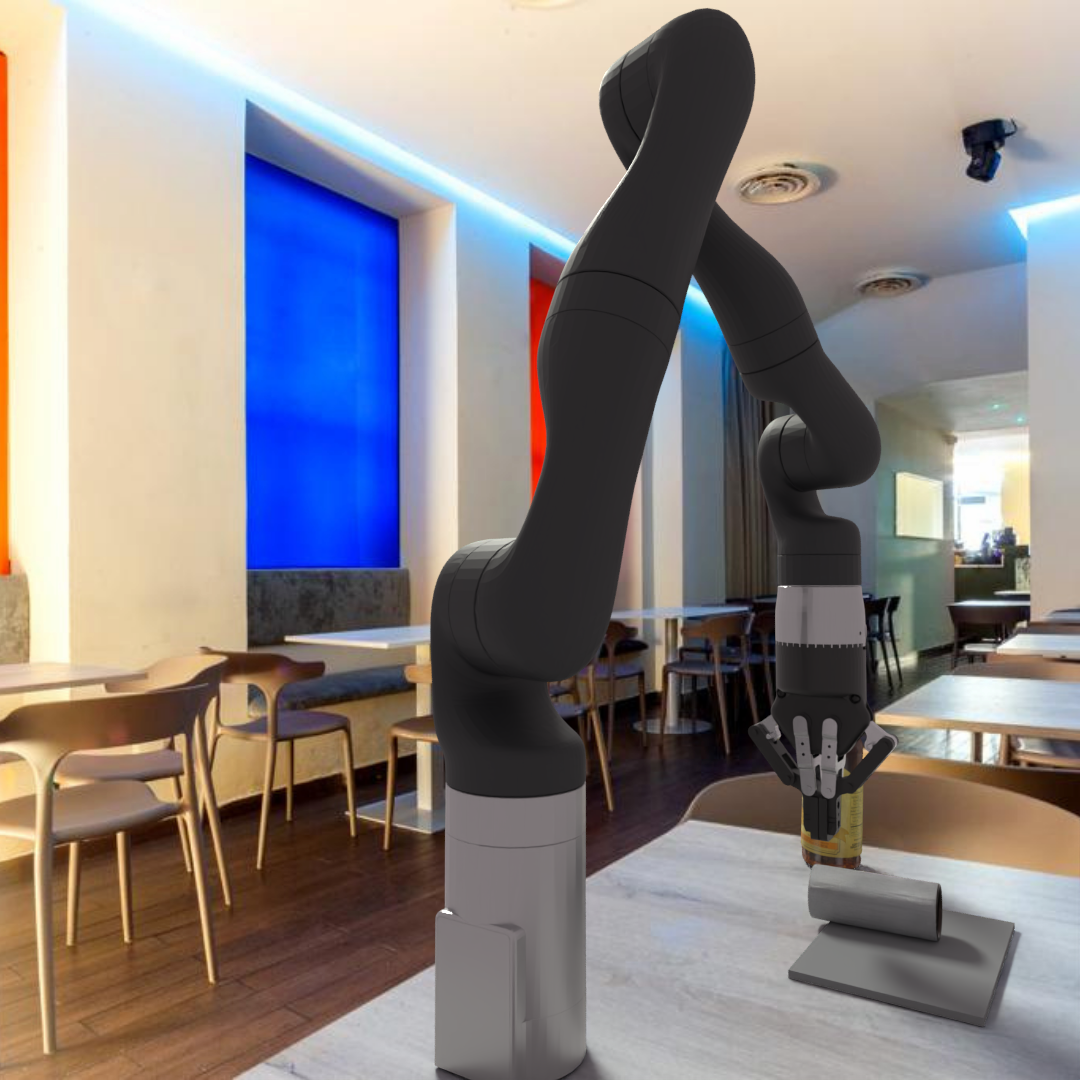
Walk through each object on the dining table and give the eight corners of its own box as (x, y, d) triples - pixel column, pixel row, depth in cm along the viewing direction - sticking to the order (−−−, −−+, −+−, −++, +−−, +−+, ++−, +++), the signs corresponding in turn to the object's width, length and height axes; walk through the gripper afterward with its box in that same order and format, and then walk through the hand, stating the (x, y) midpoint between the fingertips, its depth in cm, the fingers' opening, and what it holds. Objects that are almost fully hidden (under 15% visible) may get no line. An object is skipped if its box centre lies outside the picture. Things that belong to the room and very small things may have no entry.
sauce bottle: (788, 859, 96) (787, 675, 97) (833, 852, 99) (831, 673, 100) (832, 878, 90) (829, 682, 91) (878, 870, 93) (875, 679, 94)
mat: (984, 1027, 61) (983, 1018, 61) (788, 977, 68) (788, 969, 68) (1014, 929, 77) (1014, 922, 77) (854, 898, 85) (854, 892, 85)
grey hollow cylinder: (817, 916, 80) (942, 940, 75) (805, 918, 76) (936, 943, 71) (819, 863, 81) (943, 883, 76) (808, 863, 78) (937, 883, 72)
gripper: (731, 637, 78) (733, 837, 77) (890, 643, 71) (894, 863, 70) (760, 632, 84) (762, 817, 84) (908, 637, 77) (912, 840, 77)
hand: (822, 838), depth 77 cm, fingers closed
